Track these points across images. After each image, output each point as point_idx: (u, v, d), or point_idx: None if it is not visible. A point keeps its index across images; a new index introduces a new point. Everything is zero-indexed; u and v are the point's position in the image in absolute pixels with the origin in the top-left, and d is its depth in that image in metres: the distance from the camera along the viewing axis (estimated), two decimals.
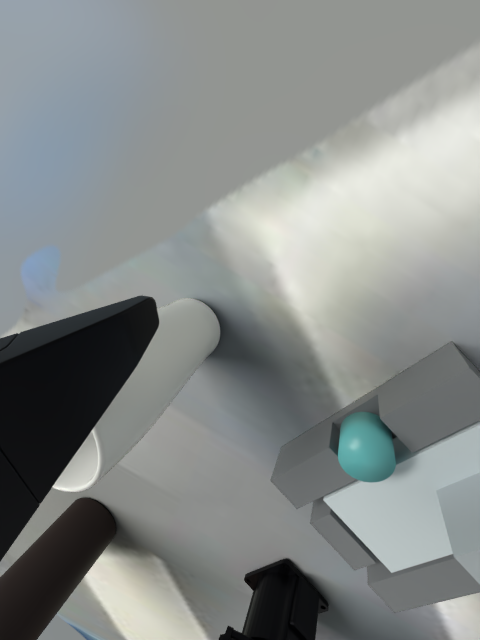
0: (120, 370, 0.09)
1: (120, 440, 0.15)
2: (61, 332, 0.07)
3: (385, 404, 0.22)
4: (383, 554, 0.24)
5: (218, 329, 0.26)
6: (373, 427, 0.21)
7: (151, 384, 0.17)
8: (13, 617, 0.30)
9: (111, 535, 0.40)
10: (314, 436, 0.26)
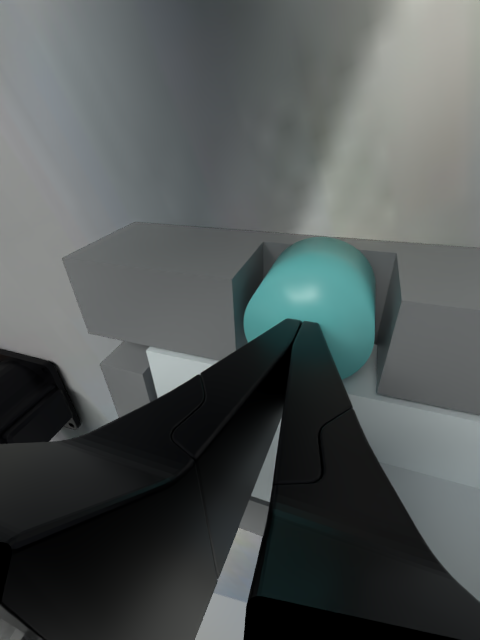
0: (280, 408, 0.07)
1: None
2: (249, 372, 0.06)
3: (421, 280, 0.08)
4: None
5: None
6: (368, 288, 0.09)
7: None
8: None
9: None
10: (209, 242, 0.11)
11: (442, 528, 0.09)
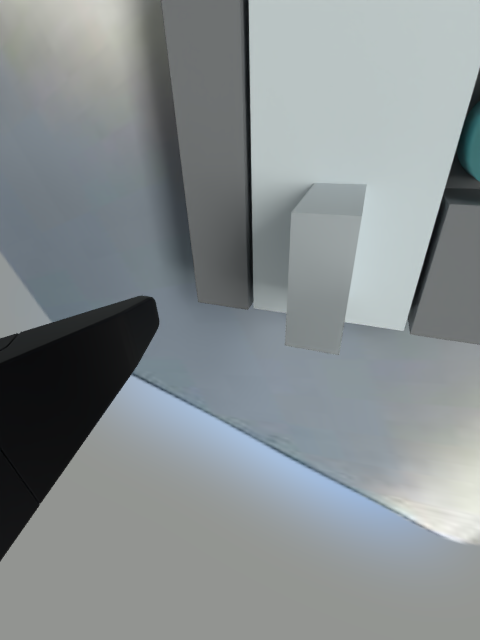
0: (120, 370, 0.09)
1: None
2: (61, 332, 0.07)
3: None
4: None
5: None
6: None
7: None
8: None
9: None
10: None
11: None
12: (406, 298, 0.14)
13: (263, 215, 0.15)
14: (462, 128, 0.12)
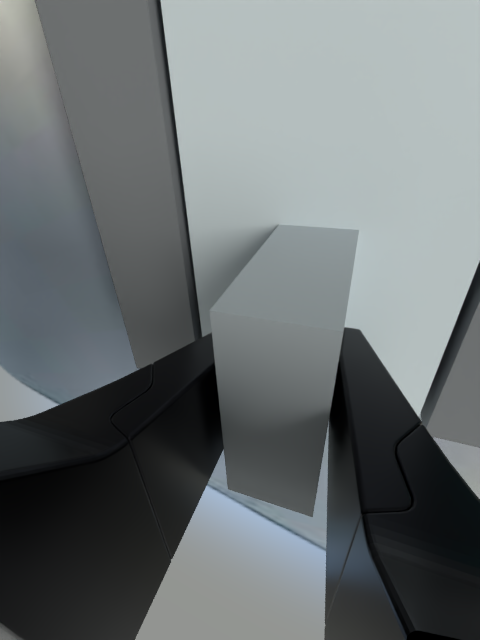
0: None
1: None
2: (200, 361, 0.06)
3: None
4: None
5: None
6: None
7: None
8: None
9: None
10: None
11: None
12: (419, 389, 0.10)
13: (209, 265, 0.10)
14: None
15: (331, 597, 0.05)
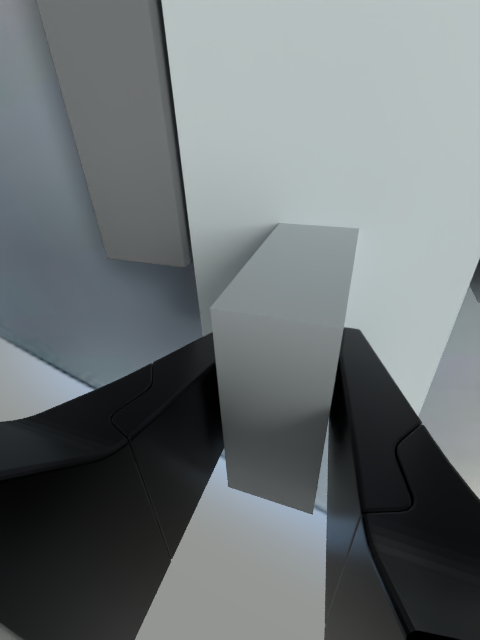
0: None
1: None
2: (200, 361, 0.06)
3: None
4: None
5: None
6: None
7: None
8: None
9: None
10: None
11: None
12: (419, 388, 0.10)
13: (209, 264, 0.10)
14: None
15: (331, 597, 0.05)
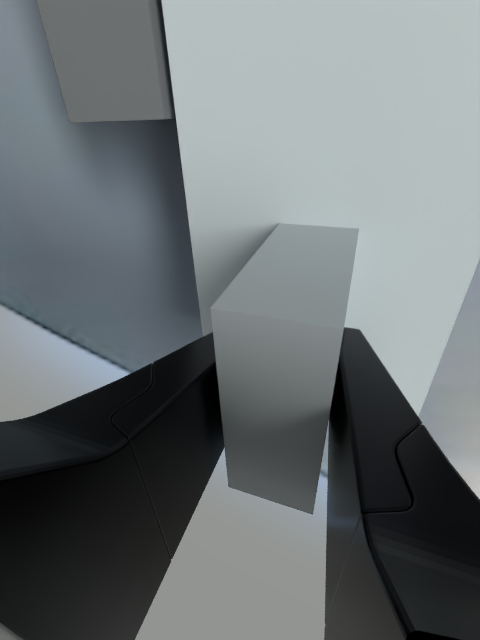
0: None
1: None
2: (200, 362, 0.06)
3: None
4: None
5: None
6: None
7: None
8: None
9: None
10: None
11: None
12: (419, 388, 0.10)
13: (209, 264, 0.10)
14: None
15: (331, 597, 0.05)
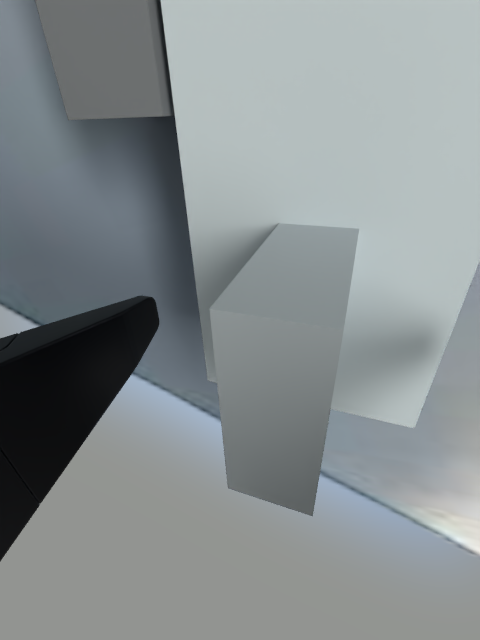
0: (120, 370, 0.09)
1: None
2: (61, 332, 0.07)
3: None
4: None
5: None
6: None
7: None
8: None
9: None
10: None
11: None
12: (419, 389, 0.10)
13: (208, 265, 0.10)
14: None
15: None
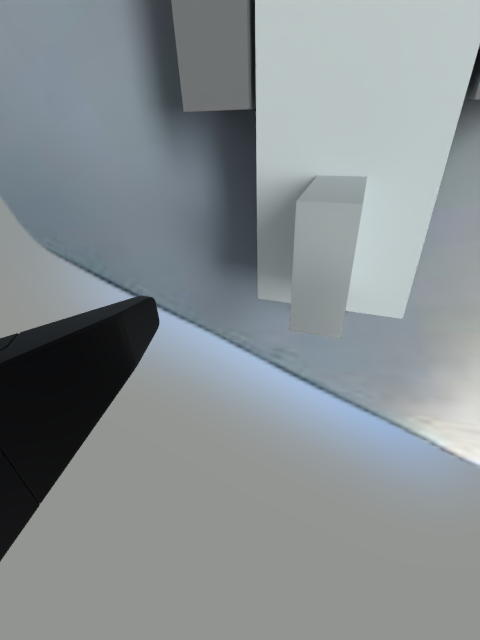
0: (120, 370, 0.09)
1: None
2: (61, 332, 0.07)
3: None
4: None
5: None
6: None
7: None
8: None
9: None
10: None
11: None
12: (405, 287, 0.15)
13: (267, 207, 0.15)
14: None
15: None
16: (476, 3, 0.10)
